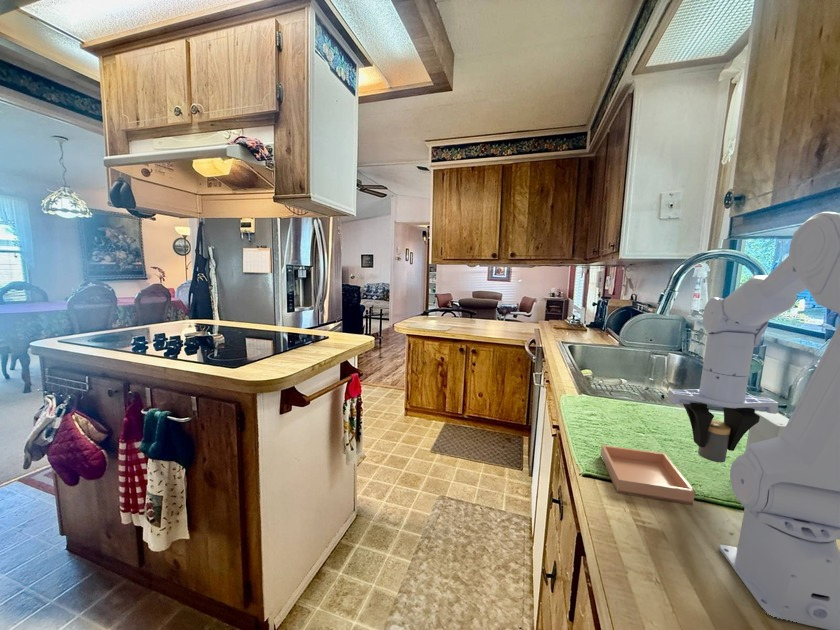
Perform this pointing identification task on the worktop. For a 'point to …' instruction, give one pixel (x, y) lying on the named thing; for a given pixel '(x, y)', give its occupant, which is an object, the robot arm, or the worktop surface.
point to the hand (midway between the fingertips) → (713, 445)
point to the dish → (646, 475)
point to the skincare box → (767, 427)
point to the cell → (716, 442)
